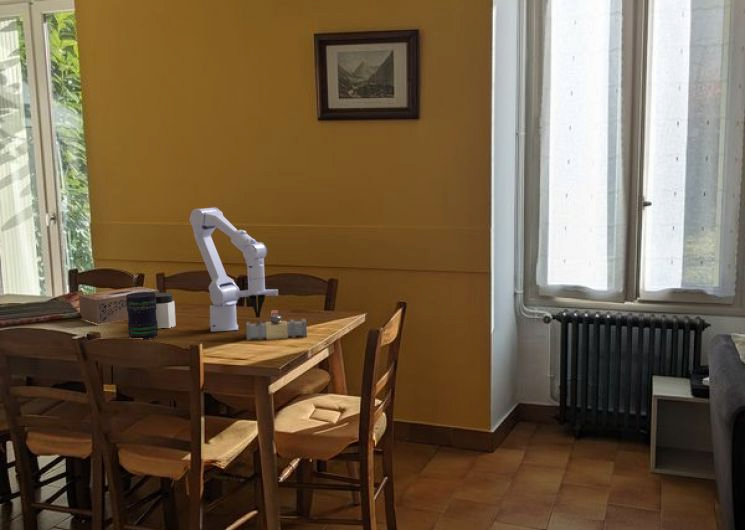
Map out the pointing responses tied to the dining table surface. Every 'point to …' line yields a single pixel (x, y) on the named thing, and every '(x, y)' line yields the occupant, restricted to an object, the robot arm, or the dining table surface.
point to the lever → (275, 317)
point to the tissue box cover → (107, 304)
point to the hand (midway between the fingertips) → (257, 316)
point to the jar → (165, 310)
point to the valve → (276, 329)
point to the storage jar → (142, 315)
